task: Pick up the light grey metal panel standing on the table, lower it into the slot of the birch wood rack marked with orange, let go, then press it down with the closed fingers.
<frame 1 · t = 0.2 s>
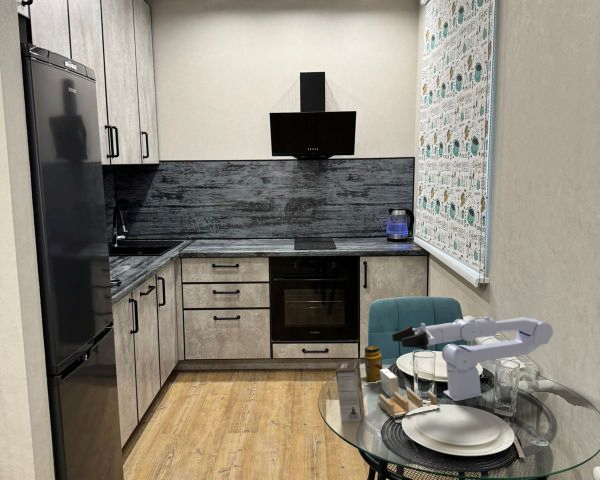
hand: (397, 340, 172), 21 cm above the table, tool horizontal, fingers open, 7 cm apart
panel: (390, 393, 185), on the table
condiment: (372, 380, 199), on the table
rack: (408, 406, 174), on the table
coffee box: (353, 415, 172), on the table
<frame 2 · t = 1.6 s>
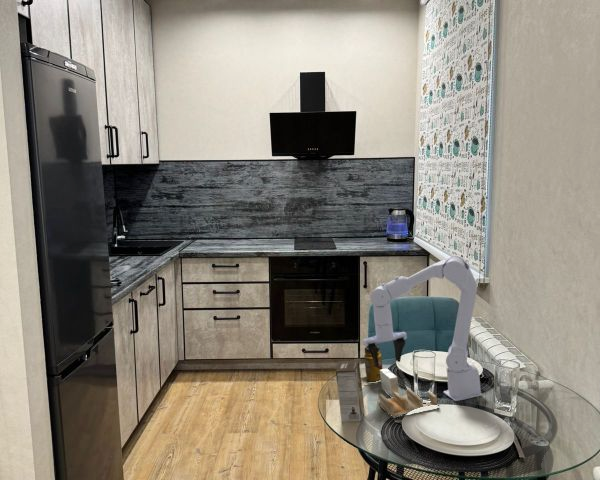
hand: (387, 363, 184), 10 cm above the table, tool pointing down, fingers open, 7 cm apart
nothing on the table moved.
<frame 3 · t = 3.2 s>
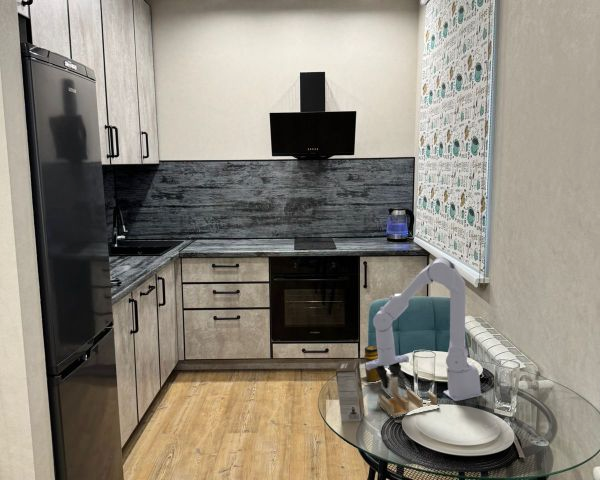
hand: (389, 386, 185), 2 cm above the table, tool pointing down, fingers closed on panel, 2 cm apart
panel: (390, 393, 185), on the table, touching gripper
everything else where it was.
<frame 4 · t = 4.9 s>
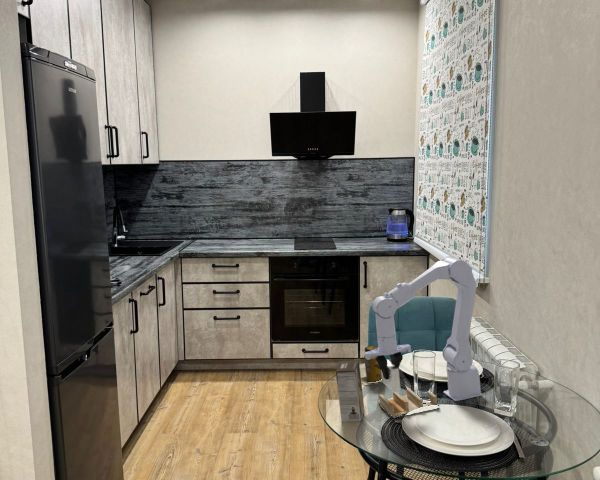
hand: (390, 377, 174), 9 cm above the table, tool pointing down, fingers closed on panel, 2 cm apart
panel: (391, 386, 174), point 7 cm above the table, touching gripper
everything else where it was.
when the fingers open (5 cm above the table, at t = 6.5 s): panel stays where it is, resting on rack.
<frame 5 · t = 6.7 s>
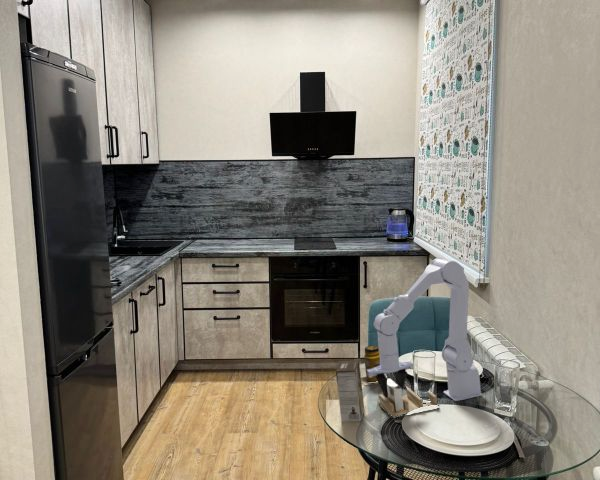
hand: (392, 395, 172), 5 cm above the table, tool pointing down, fingers open, 4 cm apart
panel: (393, 405, 173), point 1 cm above the table, touching rack
everything else where it was.
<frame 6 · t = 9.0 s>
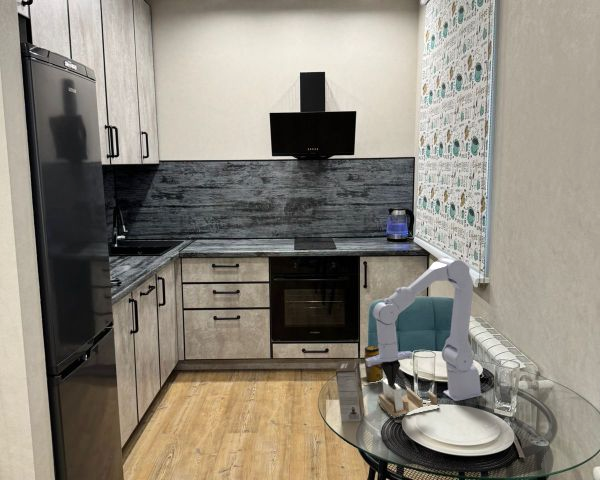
hand: (391, 384, 172), 8 cm above the table, tool pointing down, fingers closed, pressing on panel
panel: (393, 405, 173), point 1 cm above the table, touching gripper, rack
everything else where it was.
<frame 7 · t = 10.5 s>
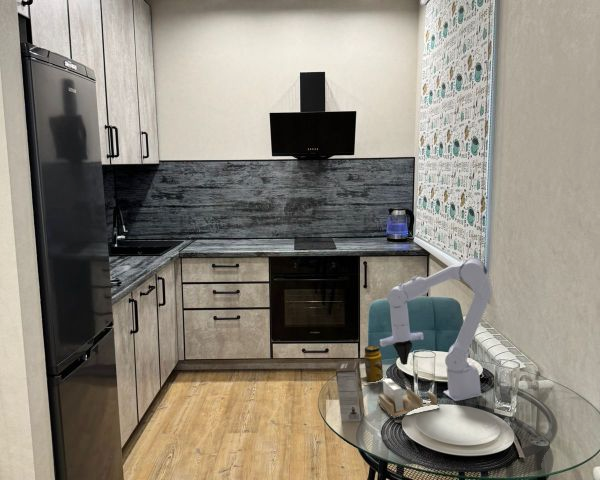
hand: (404, 363, 183), 10 cm above the table, tool pointing down, fingers closed
panel: (393, 405, 173), point 1 cm above the table, touching rack
everything else where it was.
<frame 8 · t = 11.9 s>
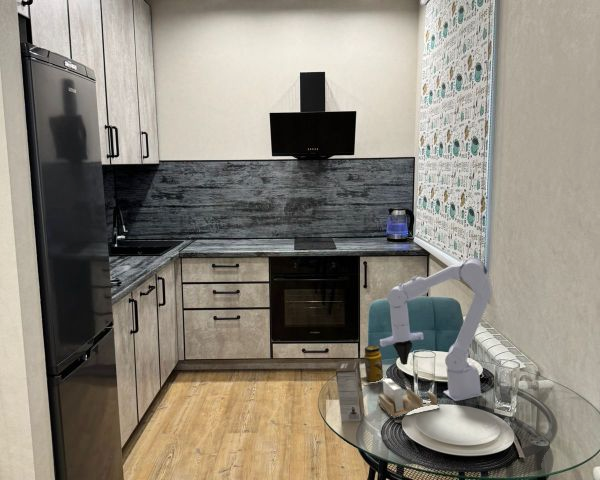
hand: (404, 363, 183), 10 cm above the table, tool pointing down, fingers closed
nothing on the table moved.
at the end: panel 0.1 cm from the target spot on the rack, point 1.2 cm above the rack's base; panel tilted 0°; the gripper is holding nothing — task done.
